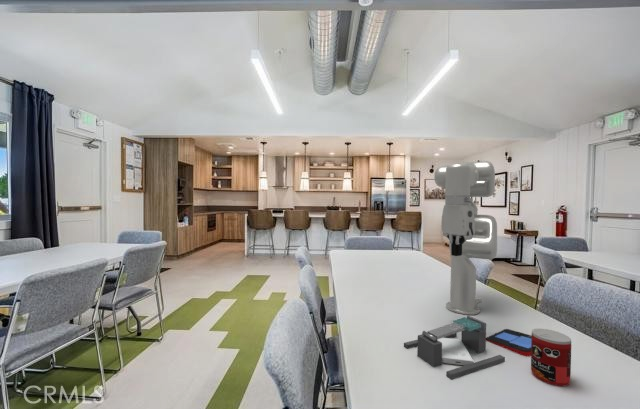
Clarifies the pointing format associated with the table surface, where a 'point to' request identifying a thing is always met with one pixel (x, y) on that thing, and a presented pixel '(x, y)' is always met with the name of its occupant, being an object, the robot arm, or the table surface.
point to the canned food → (551, 356)
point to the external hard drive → (455, 352)
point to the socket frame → (470, 339)
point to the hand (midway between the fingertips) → (456, 255)
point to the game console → (512, 341)
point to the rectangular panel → (452, 328)
